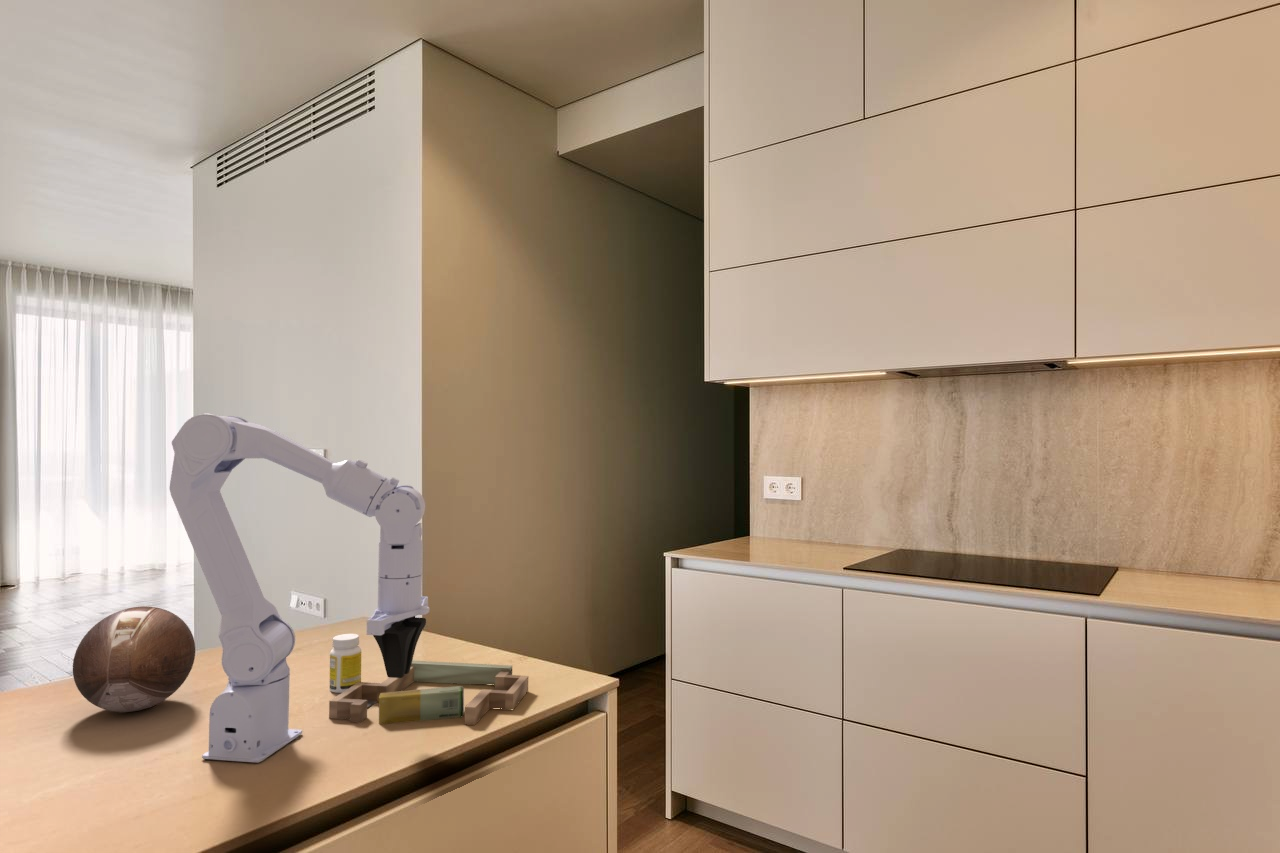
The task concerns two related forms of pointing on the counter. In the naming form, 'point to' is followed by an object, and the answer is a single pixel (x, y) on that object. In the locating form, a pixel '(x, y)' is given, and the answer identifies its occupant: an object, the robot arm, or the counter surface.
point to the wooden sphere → (133, 659)
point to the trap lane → (504, 695)
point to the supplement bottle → (345, 662)
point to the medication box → (421, 704)
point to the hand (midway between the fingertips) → (398, 674)
